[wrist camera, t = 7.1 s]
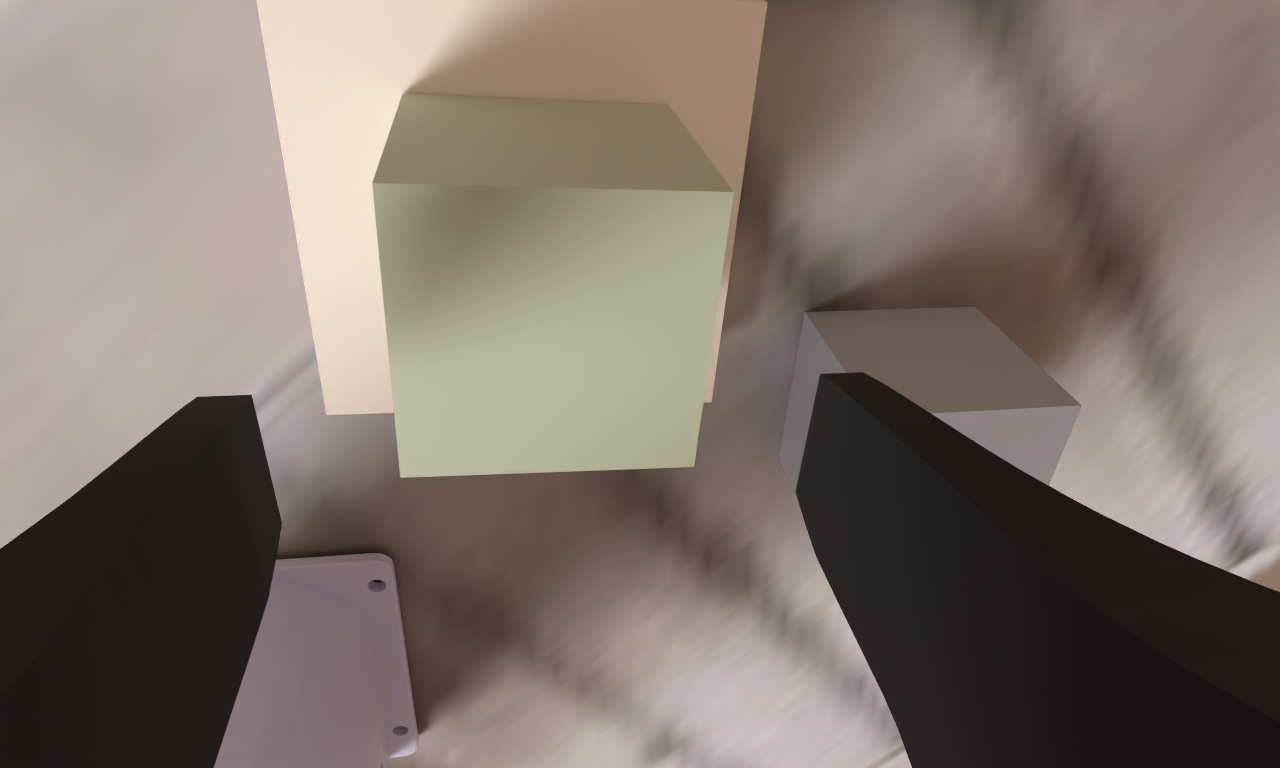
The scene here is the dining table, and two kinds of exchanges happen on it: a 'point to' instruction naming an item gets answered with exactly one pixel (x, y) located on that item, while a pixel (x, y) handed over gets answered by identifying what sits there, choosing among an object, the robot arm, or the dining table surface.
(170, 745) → the robot arm
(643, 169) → the sage block
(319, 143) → the base block
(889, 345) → the grey block
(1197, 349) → the dining table surface
